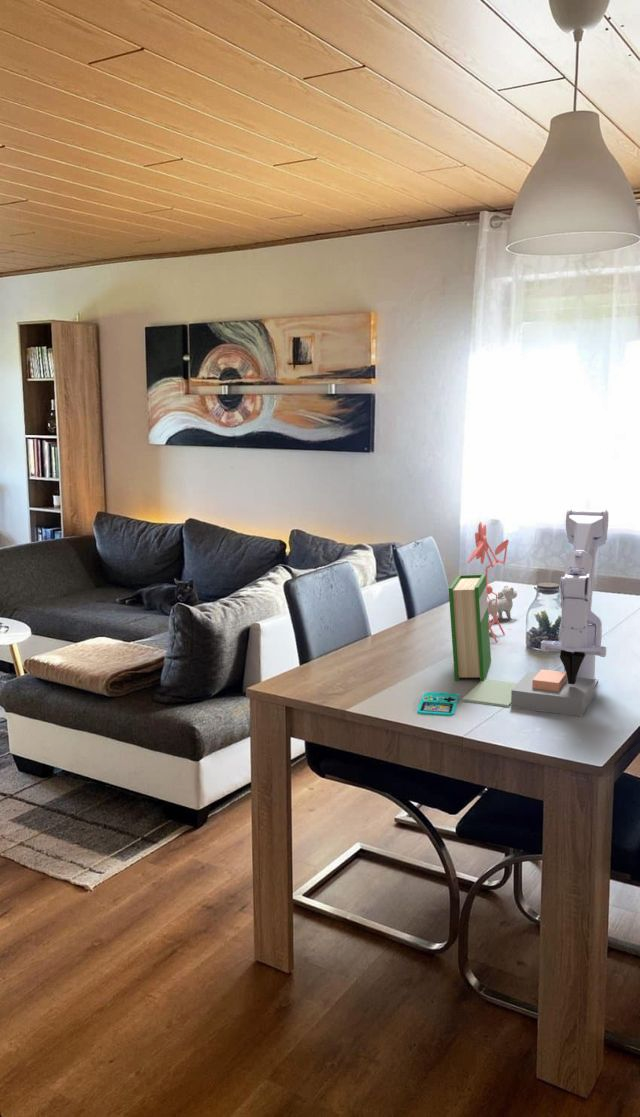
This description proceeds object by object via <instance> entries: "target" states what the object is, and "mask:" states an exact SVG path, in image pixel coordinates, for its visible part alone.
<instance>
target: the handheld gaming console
mask: <svg viewBox="0 0 640 1117" xmlns="http://www.w3.org/2000/svg"><path fill="white" fill-rule="evenodd" d="M459 697H460V696H459V694H458V693H455V692H454V693H452V692H438V691H437V692H436V691H428V692H425V693H423V694H422V697H421V699H420V702H419V704H418V707H417V710H416V713H417V714H419V715H428V714H429V715H431V716H442V715H443V716H447V717H450V716H451V717H452V716H454V715H455V712H456V708H457V704H458V701H459ZM425 705H426V707H430V708H431V709H429V710H428V709H424V708H425ZM436 707H437V708H436ZM438 707H439V708H440V709H447V708H448V707H449V709H448V711H446V710H445V711H444V710H443V711H442V710H439V708H438Z"/></svg>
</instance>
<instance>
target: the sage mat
mask: <svg viewBox="0 0 640 1117" xmlns="http://www.w3.org/2000/svg"><path fill="white" fill-rule="evenodd" d="M517 683H518V682H511V681H503V680H502V681H501V680H495V679H488V678H487V679H486V678H485V680H484V681H481V680H480V681H479V683H477V684H476V685H474V687H473V688H472V689H471V690H470V691H469V692H468V693H467V694H466V695H465V696H464V697H463V698H462V702H469V703H474V704H475V703H477V704H483V705H491V706H495V707H496V706H497V707H505V708H509V707H511V690H512V689H513V688H514V687H515V686H516V685H517Z"/></svg>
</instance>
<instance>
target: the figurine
mask: <svg viewBox="0 0 640 1117" xmlns="http://www.w3.org/2000/svg"><path fill="white" fill-rule="evenodd" d="M486 536H487V524H483V523H482V521H479V523H478V527H477V532H475V533H474V539H475V540H474V542H475V547H476V549H475V550H474V551H473V552H472V554H471V555H470V557H469V559H468V560H467V563H468V564H470V563H471V561H473V560H474V558H476V560H479V559H480V563H481V565H483V564H484V562H485V558H486V556H487V559H488V561H489V563H490V564H488V566H486V568H485V569H484V570H485V574H486V587H487V600H488V601H489V602H490V605H489V612H488V620H489V619H490V615H491V614H490V607H491V601H490V599H491V598H490V596H489V595H490V594H493V595H495V599H496V604H495V617H494V619H492V621H490V620H489V632H490V633H491V635H492V637H493V639H494V641H495V643H498V639H497V638H496V636H495V634H494V631H493V629H492V627H493V625H494V624H497V625H498V627H499V629H500V631H501V633H502V635H503V636H505V635H506V633H505V631H504V629H503V627H502V624H501V623H500V621H499V619H498V618H499V615H498V614H497V616H496V607H497V597H498V593H496V592H493V590H494V589H493V587H492V586H491V585H488V569H490V568H493V567H494V566H495V564H497V563H500V564H503V565H504V564H505V563H506V557H507V550H508V545H509V542H510V541H509V539H507V538H506V540H504V541H502V542H501V543H499V544H498V545H497V547H496V548H495V550H494V552H493V550H492V548H491V546H490V545H489V543H488V539H487V537H486ZM488 551H489V552H490V553H491V554H492V557H493V559H494V561H493V562H492V559H491V557H490V554H489V552H488ZM503 551H504V554H503V560H500V559H498V558H496V556H497V555H499V554H500V553H502V552H503ZM495 621H497V623H495ZM509 630H511V631H512V630H513V629H511V628H509Z"/></svg>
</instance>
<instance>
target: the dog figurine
mask: <svg viewBox="0 0 640 1117" xmlns="http://www.w3.org/2000/svg"><path fill="white" fill-rule="evenodd" d="M517 596H518V591H517V590H515V589H514V587H513V586H512V587H511V586H510V587H509V585H504V587H503V588H502V590H501V591H498V593H497V607H496V616H497V615H499V617H498V618H499V619H503V612H505V616H506V618H507V620H509V621H510V620H511V621H512V620H513V619H512V617H511V616H512V615H511V611H512V609H513V606H514V605H513V602H514V601H513V599H515V598H517ZM489 599H490V601H491V607H490V614H489V615H490V616H491V617H492V618H493V619H494V617H495V604H496V597H494V598H493V597H492V598H489ZM487 604H488V612H489V605H490V602H489V600H487ZM493 619H492V620H493ZM494 624H498V623H497V621H495V623H494Z"/></svg>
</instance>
